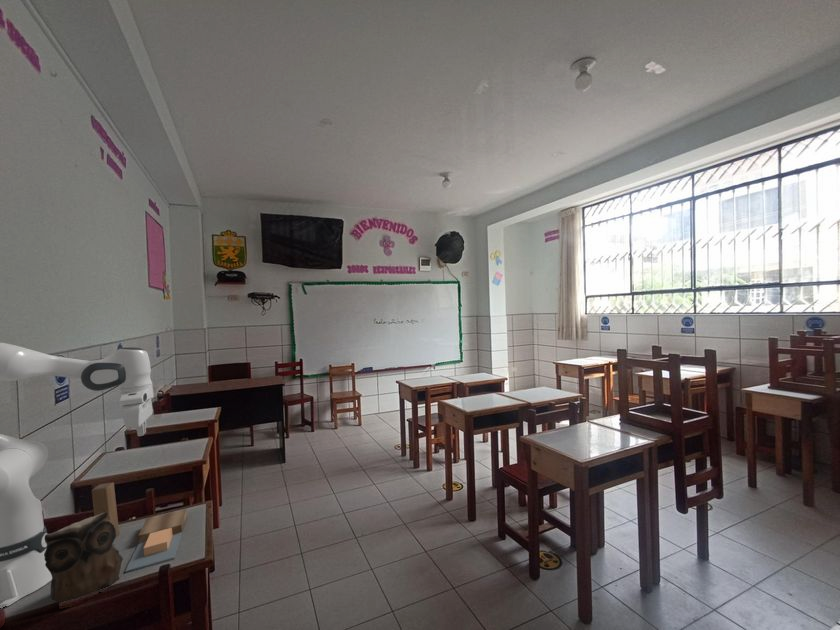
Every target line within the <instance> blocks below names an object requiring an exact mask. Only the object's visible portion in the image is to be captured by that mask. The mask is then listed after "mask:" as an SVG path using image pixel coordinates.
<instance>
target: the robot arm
mask: <svg viewBox="0 0 840 630" xmlns="http://www.w3.org/2000/svg"><path fill="white" fill-rule="evenodd" d="M151 373H152V368H151V360H150V358H149V354H148V351H147V350H146V349H144V348H141V347H135V346H133V347H132V346H131V347H129V346H128V347H127V346H126V347H120V348H119V349H117V350H116V351H115V352H112V353H111V354H110V355H108V356H105V357H100V358H95V359H81V358H72V357H66V356H58V355H52V354H47V353H44V352H41V351H37V350H33V349H30V348H26V347H24V346H20V345H15V344H11V343H6V342H0V382H6V381H7V382H8V381H9V382H11V381H14V382H15V381H20V380H21V381H22V380H25V379H29V378H30V379H31V378H36V377H45V376H46V377H48V376H51V377H62V378H71V379H79V380H80V381H81V383H82V385H83V386H84V387H85V388H86V389H89V390H90V391H97V392H102V391H106V390H109V389H111V388H114V387H118V386H119V388H120V397H119V399H118V404H119V407H121V413H122V420H123V424H124V427H125V429H126V430H130V429H133V430H134V429H135V430H136V434H137V437H143V436H144V435H145V434H146V433H147V429H146V428H147V420H148V419H149V418H150V417H151V416H152V415H153V411H154V410H153V403H152V399H153V398H154V397H155V395H154V388H153V387H154V386H153V380H151V379H152V378H151ZM48 458H49V450H48V448H47V446H46V445H45V444H44V443H43V442H40V441H38V440H31V439H29V440H27V439H21V438H17V437H13V436H10V435H5V434H2V433H0V608H1V609H4V608H3V607H5V606H7V607H8V606H11V605H12V604H15V603H16V602H17V601H19V600H20V599H22V598H24V597H26V596H27V595H30V594H32V593H34V592H36V591H38V590H39V589H41V588H42V587H44V586H46V585H47V584H48V583H49V582H51V581H52V575H51V573H50V571H49V570H48V569H47V567H46V566H45V564H46V561H45V556H44V553H45V551H46V548H47V544H46V542H45V535H46V534H48V531H47V526H46V525H45V524H44V516H43V506H42V501H41V500H40V499H39V498H37V497H36V496H35V495H34V493H33V491H32V490H31V487H30V478H32V477H34V476H35V475H37V473H39V472H40V471H41V469H42V468H43V467H44V466H45V464H46V462H47V460H48ZM5 608H6V607H5Z"/></svg>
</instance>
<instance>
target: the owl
mask: <svg viewBox="0 0 840 630" xmlns="http://www.w3.org/2000/svg"><path fill="white" fill-rule="evenodd" d="M107 516H108V512H104V513H101V514H99V515H96V516H94V515H93V516H90V517H87V518H85V519H82V520H80V521H77V522H73V523H71V524H70V525H67V526H65V527H63V528H61V529H58V530H57V531H54V532H52V533H47V534H46V535H45V542H46V544H47V548H46V551H45V553H44V556H45V561H46V564H45V566H46V567H47V569H48V570H49V571H50V573H51V575H52V580H51V581H50V582H51V583H50V598H51V600H53V601H55V602H56V603H57V604H58V603H61V602H64V601H67V600H71V599H75V598H78V597H81V596H84V595H87V594H90V593H92V592H95V591H98V590H100V589H103V588H106V587H109V586H111V585H112V584H113V585H114V584H115V583H116V582H117V581H119V580H120V576H119V575H120V573H121V567H122V563H123V561H124V558H123V556H122V554H121V553H120V552H119V551H120V550H119V549H118V548H116V547H115V544H114V541H115V539H116V538H117V536H118V535H116V529H115V527H114V525H113V524H112V523H111V522H110V521H109V520H108V518H107ZM113 585H112V586H113ZM112 586H111V587H112Z"/></svg>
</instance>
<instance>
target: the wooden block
mask: <svg viewBox="0 0 840 630" xmlns="http://www.w3.org/2000/svg"><path fill="white" fill-rule="evenodd" d="M91 497H92V505H93V506H92V507H93V517H94V516H96V515H99V514H101V513H104V512H108V516H107V518H108V520H109V521H110V522H111V523H112V524H113V525H114V527H115V529H116V535H117V536H118V535H119V534H120V529H119V527H120V526H119V519H118V511H117V510H118V509H117V501H116V492H115V483H114V482H107V483H100V484H98V485H97V486H95V487H94V488H92V489H91Z"/></svg>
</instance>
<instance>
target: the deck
mask: <svg viewBox="0 0 840 630" xmlns="http://www.w3.org/2000/svg"><path fill="white" fill-rule="evenodd" d="M187 519H188V511H187V508H182V509H180V510H174V511H171V512H167V513H163V514H159V515H155V516H150V517H147V518H146V519H145V522H144V524H143V525H142V526H141V529H140V530H139V533H138V535H137V539H138V544H139V543H142V542H146V541H147V539H148V537H149V535H150V533H153V532H157V531H161V530H165V529H168V528H172V534H176V533H180V532H182V533H183V532H184V529H185V525H186V522H187Z"/></svg>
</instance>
